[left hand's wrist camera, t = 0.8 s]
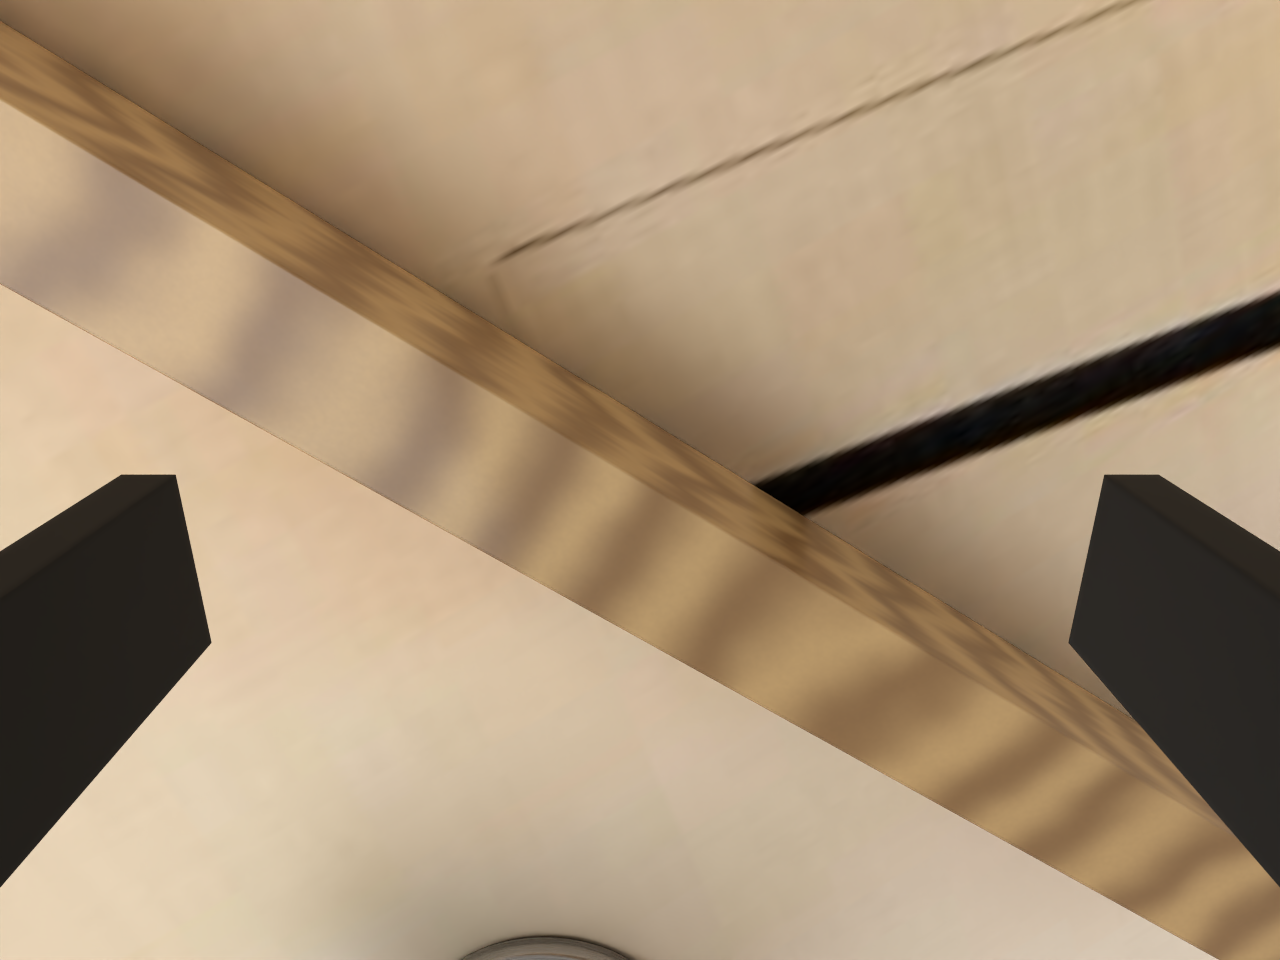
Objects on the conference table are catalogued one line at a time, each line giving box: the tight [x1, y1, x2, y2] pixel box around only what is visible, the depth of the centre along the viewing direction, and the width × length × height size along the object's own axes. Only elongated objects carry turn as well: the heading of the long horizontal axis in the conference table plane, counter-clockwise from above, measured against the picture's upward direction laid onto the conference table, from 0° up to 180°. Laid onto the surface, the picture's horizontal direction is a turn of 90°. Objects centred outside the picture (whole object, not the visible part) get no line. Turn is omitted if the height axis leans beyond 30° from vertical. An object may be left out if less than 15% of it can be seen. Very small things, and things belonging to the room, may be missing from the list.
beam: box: [0, 21, 1280, 960], centre depth 35 cm, size 75×6×8 cm, turn 57°
